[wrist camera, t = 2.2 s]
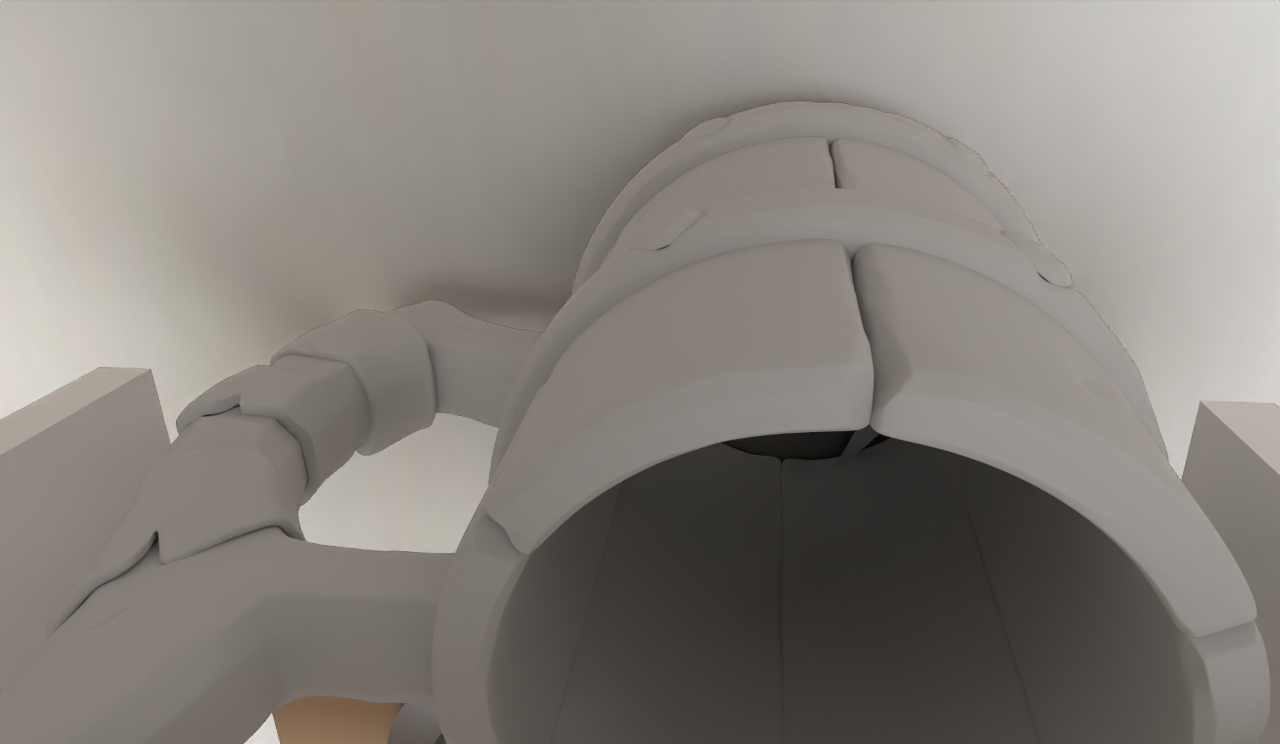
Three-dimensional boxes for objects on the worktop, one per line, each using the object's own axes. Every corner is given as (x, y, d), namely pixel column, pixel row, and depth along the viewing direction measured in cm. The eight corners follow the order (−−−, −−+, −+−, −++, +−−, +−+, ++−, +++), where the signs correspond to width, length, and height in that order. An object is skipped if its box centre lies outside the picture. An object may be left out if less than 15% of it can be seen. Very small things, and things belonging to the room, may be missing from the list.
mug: (995, 509, 17) (1396, 1496, 6) (405, 473, 18) (-147, 1177, 7) (1065, 88, 14) (2201, 495, 3) (349, 92, 15) (-723, 348, 4)
